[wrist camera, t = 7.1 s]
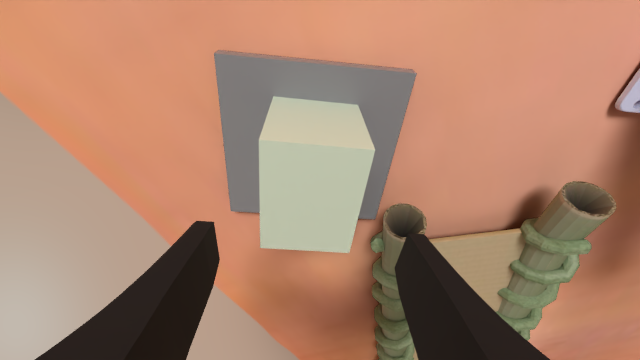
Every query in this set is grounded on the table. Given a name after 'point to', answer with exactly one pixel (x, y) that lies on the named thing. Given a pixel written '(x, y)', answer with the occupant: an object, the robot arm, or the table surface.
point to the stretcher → (492, 262)
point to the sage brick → (312, 174)
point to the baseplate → (310, 84)
